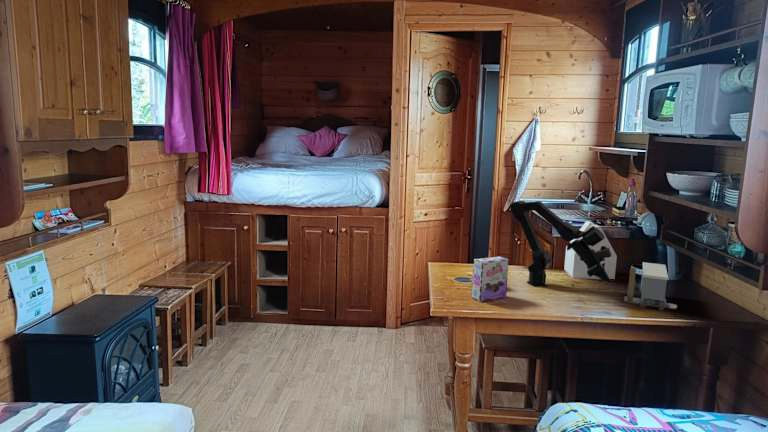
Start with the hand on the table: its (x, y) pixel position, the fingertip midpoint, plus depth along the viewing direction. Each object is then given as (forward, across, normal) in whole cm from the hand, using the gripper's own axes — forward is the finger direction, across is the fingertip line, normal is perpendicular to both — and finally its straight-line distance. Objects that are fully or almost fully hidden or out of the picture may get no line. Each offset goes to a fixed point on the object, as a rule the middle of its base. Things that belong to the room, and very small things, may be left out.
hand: (609, 281), depth 217 cm
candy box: (-25, -26, +36) cm, 52 cm away
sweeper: (+14, 0, -5) cm, 15 cm away
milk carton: (-2, +35, +12) cm, 37 cm away
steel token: (+21, 0, -12) cm, 24 cm away
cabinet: (+16, +4, -7) cm, 18 cm away
